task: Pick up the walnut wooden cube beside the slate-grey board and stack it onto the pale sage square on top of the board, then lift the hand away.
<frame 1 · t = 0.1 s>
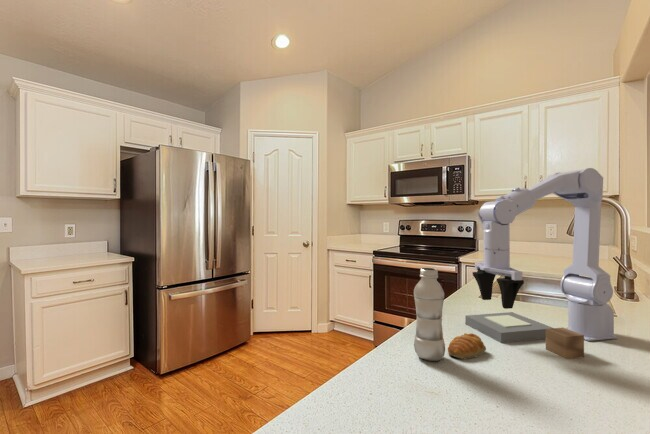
hand: (496, 303, 77), 10 cm above the countertop, tool pointing down, fingers open, 7 cm apart
walnut cube: (564, 353, 72), on the countertop
slate board: (507, 330, 86), on the countertop
plastic bottle: (429, 358, 70), on the countertop
pastry: (466, 354, 73), on the countertop
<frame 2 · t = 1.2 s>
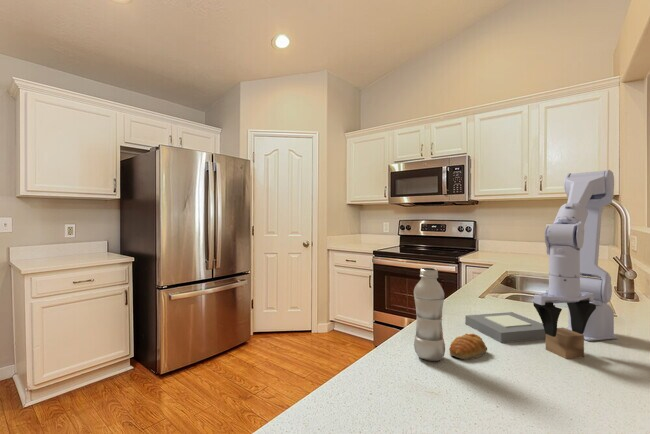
hand: (564, 333, 72), 4 cm above the countertop, tool pointing down, fingers open, 7 cm apart
nothing on the countertop moved.
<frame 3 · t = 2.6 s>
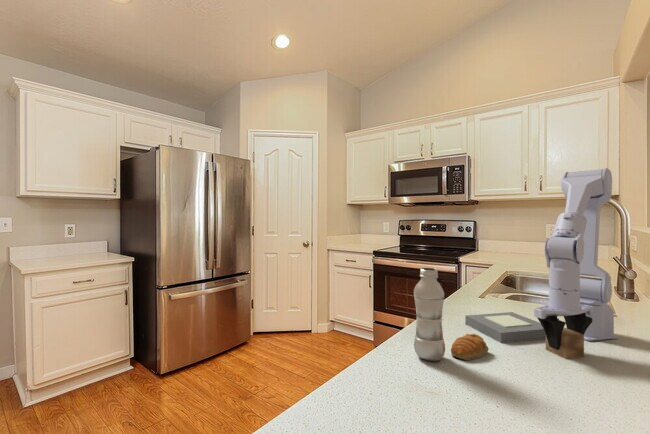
hand: (564, 346, 72), 1 cm above the countertop, tool pointing down, fingers closed on walnut cube, 5 cm apart
walnut cube: (564, 353, 72), on the countertop, touching gripper
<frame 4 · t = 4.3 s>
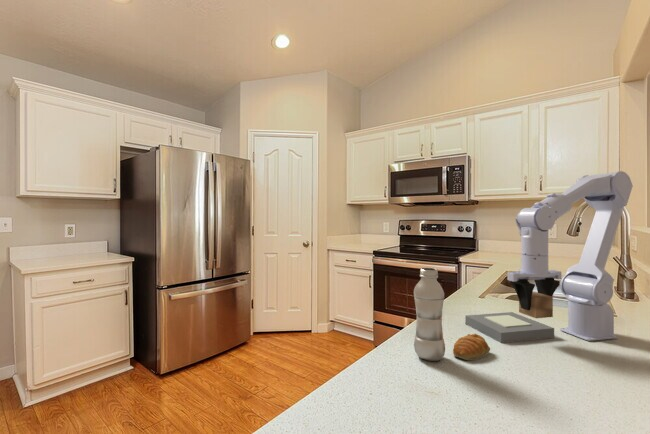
hand: (534, 308, 79), 8 cm above the countertop, tool pointing down, fingers closed on walnut cube, 5 cm apart
walnut cube: (535, 314, 79), point 7 cm above the countertop, touching gripper
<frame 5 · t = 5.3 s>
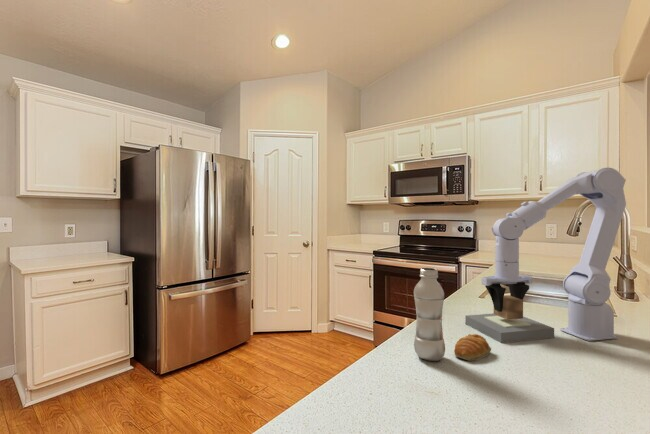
hand: (506, 310, 86), 6 cm above the countertop, tool pointing down, fingers closed on walnut cube, 5 cm apart
walnut cube: (507, 316, 86), point 4 cm above the countertop, touching gripper
when the fingers open (5 cm above the countertop, at t = 6.3 s): walnut cube stays where it is, resting on slate board.
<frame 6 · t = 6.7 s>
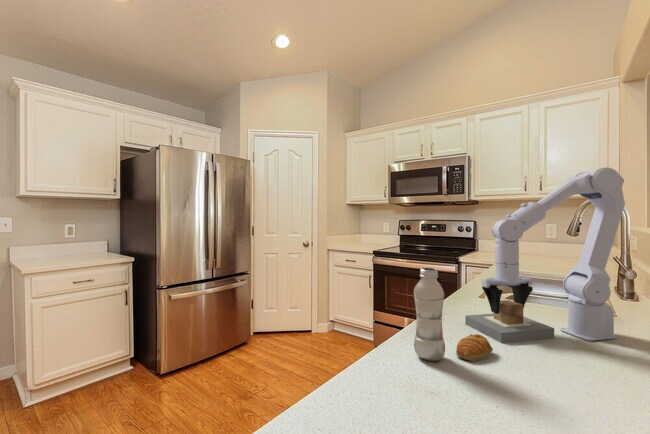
hand: (507, 311, 86), 5 cm above the countertop, tool pointing down, fingers open, 7 cm apart
walnut cube: (508, 320, 86), point 3 cm above the countertop, touching slate board
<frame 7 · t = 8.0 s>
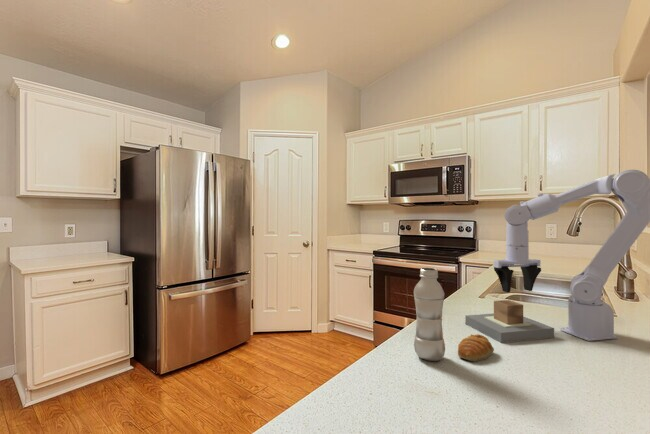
hand: (517, 291, 93), 9 cm above the countertop, tool pointing down, fingers open, 7 cm apart
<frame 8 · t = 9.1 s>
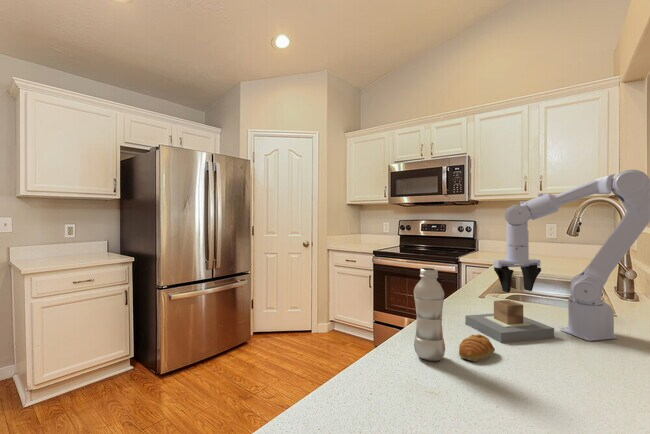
hand: (517, 291, 93), 9 cm above the countertop, tool pointing down, fingers open, 7 cm apart
at the end: walnut cube inside the target area on the slate board (0.4 cm from its centre), point 2.8 cm above the slate board's base; walnut cube tilted 0°; the gripper is holding nothing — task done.
